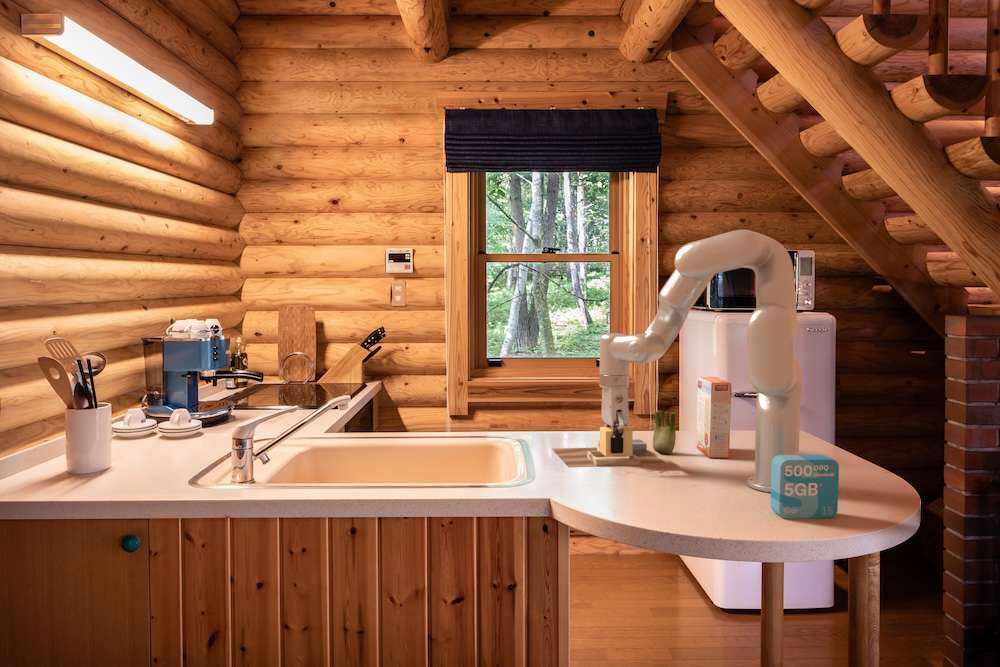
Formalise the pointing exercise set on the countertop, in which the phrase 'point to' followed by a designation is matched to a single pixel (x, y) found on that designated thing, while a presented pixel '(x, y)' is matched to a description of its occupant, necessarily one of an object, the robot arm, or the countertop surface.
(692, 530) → the countertop surface
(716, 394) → the cracker box
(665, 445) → the fennel bulb
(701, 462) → the countertop surface
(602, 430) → the block
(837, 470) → the data package
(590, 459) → the board
